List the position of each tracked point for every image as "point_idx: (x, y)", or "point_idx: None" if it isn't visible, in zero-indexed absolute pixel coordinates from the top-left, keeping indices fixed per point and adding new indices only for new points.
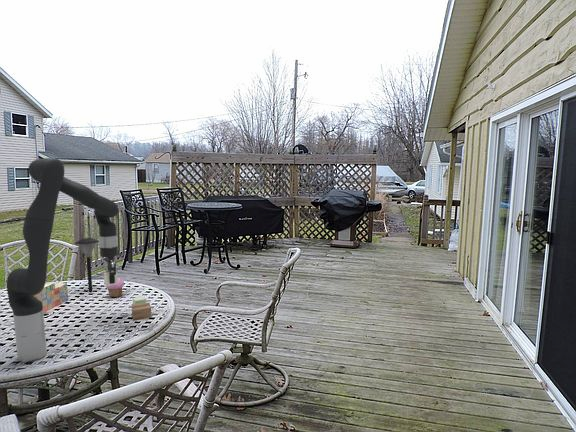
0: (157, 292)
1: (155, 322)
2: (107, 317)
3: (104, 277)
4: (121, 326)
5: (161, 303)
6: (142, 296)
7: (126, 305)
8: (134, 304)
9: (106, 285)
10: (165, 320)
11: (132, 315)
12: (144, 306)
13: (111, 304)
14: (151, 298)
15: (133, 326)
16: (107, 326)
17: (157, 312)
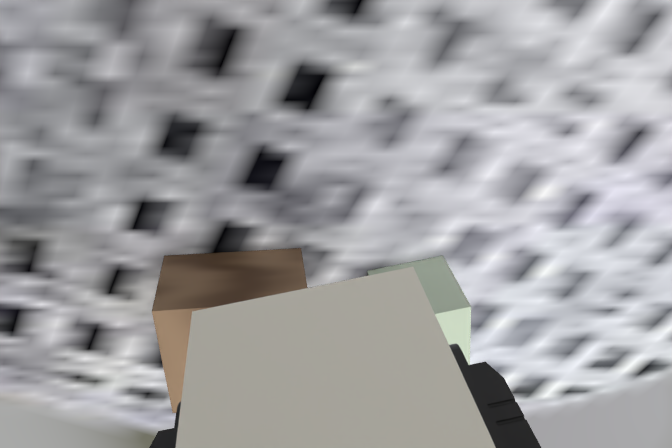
0: (636, 373)
1: (75, 371)
2: (318, 72)
3: (376, 397)
4: (47, 180)
5: None
6: (468, 361)
7: (523, 213)
8: None
9: (191, 322)
10: (97, 413)
11: (235, 260)
12: None
13: (631, 107)
14: (552, 347)
15: (26, 258)
16: (76, 71)
17: None
